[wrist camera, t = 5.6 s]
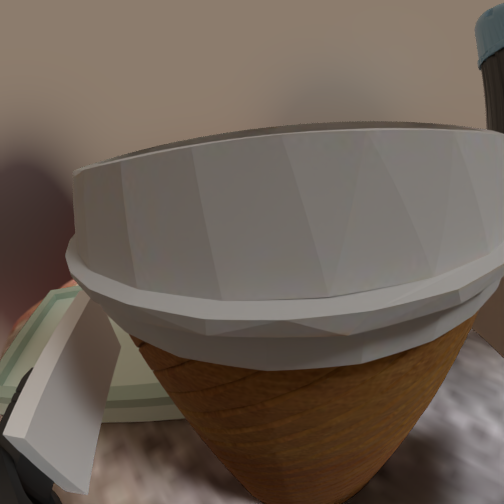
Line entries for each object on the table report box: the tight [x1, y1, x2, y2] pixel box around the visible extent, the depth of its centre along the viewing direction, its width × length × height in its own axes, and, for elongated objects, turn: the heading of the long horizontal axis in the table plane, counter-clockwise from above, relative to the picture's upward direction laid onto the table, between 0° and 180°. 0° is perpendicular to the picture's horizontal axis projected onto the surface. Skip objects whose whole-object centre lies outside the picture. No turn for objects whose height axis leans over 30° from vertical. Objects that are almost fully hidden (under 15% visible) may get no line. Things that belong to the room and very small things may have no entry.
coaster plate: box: [0, 286, 185, 423], centre depth 18 cm, size 14×14×2 cm
